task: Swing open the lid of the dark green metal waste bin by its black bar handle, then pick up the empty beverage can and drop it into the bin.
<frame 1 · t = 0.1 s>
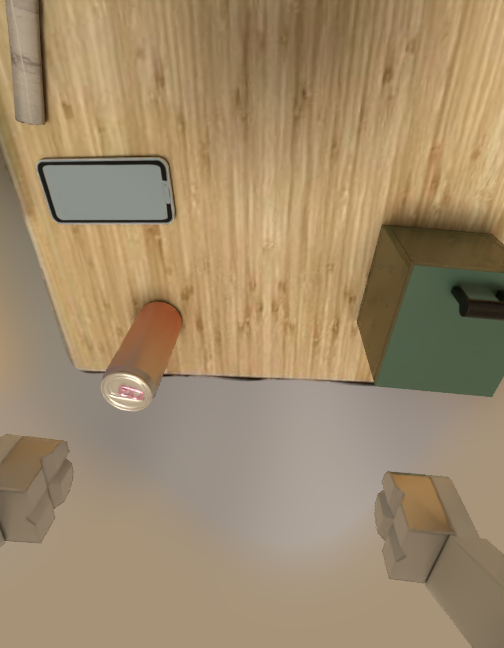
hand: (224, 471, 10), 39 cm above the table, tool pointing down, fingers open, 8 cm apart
beverage can: (162, 317, 55), on the table
rod: (34, 54, 39), on the table
smartphone: (109, 190, 45), on the table
bin lid: (463, 347, 37), point 14 cm above the table, hinge at 0.0°
waste bin: (418, 281, 49), on the table
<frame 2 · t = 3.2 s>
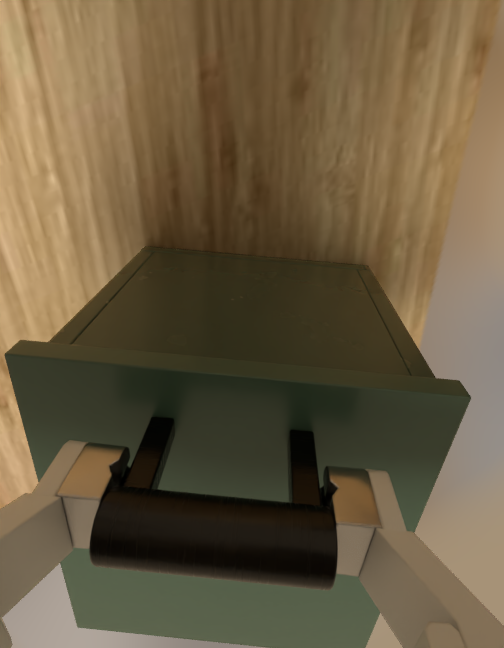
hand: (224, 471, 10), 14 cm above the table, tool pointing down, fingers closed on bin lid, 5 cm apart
bin lid: (218, 590, 12), point 14 cm above the table, hinge at 0.0°, touching gripper
waste bin: (248, 357, 25), on the table
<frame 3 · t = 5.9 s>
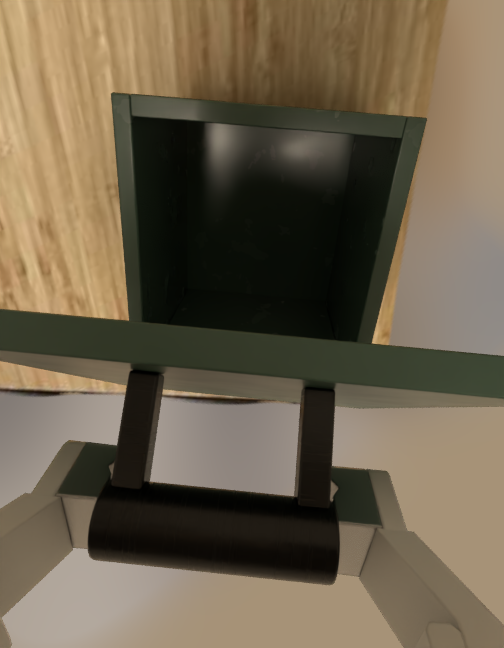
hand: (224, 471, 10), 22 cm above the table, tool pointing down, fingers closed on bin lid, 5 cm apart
bin lid: (234, 436, 14), point 19 cm above the table, hinge at 50.4°, touching gripper
waste bin: (263, 215, 29), on the table
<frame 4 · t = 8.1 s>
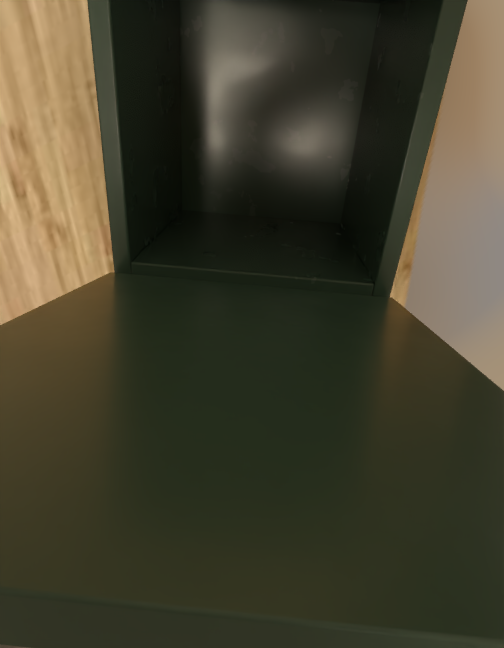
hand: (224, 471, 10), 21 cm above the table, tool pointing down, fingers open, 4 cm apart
bin lid: (232, 419, 11), point 20 cm above the table, hinge at 79.9°
waste bin: (269, 119, 25), on the table
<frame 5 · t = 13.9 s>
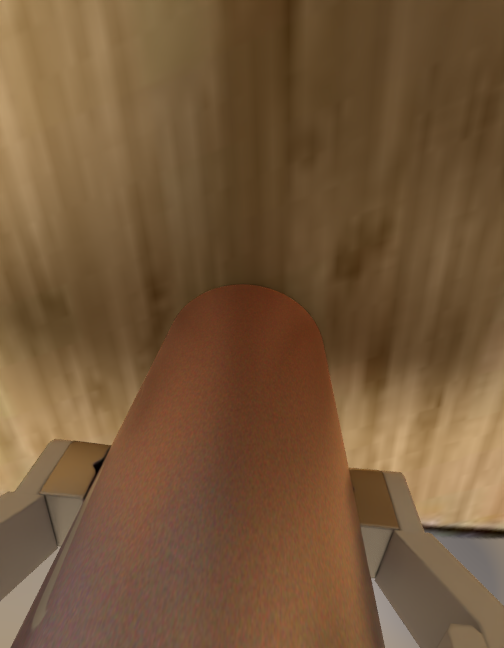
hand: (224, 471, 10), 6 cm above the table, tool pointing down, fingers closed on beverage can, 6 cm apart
beverage can: (246, 344, 16), on the table, touching gripper
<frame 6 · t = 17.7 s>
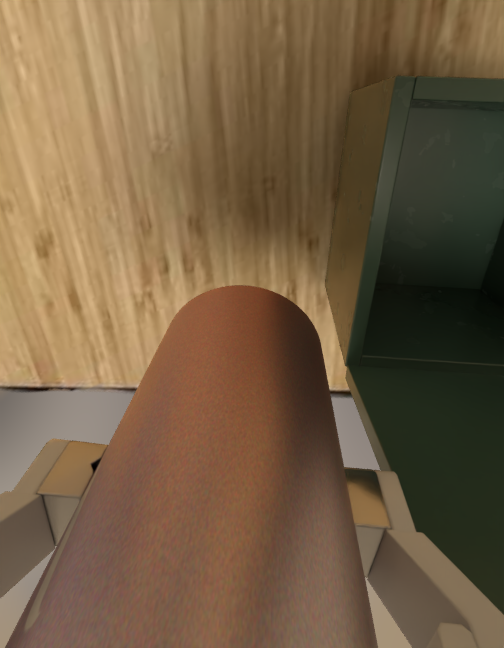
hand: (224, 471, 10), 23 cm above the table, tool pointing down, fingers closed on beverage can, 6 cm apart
beverage can: (244, 345, 16), point 17 cm above the table, touching gripper
waste bin: (423, 203, 28), on the table
when the fingers open (15 cm above the table, at t = 21.2 s): beverage can drops 8 cm, resting on waste bin.
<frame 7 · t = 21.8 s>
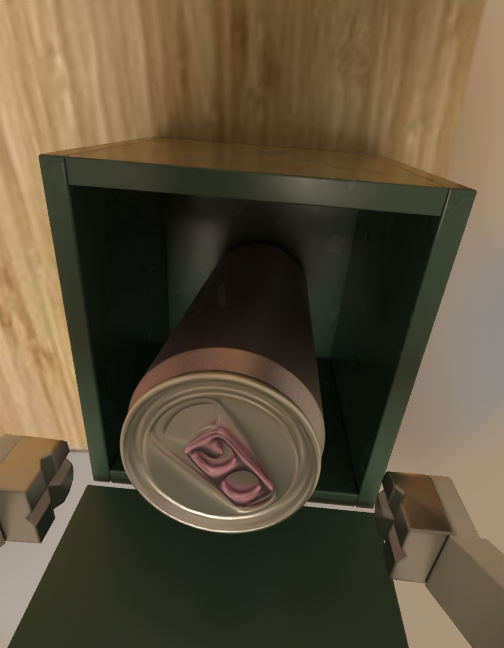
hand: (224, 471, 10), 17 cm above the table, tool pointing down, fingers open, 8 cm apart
beverage can: (258, 287, 25), point 1 cm above the table, touching waste bin
waste bin: (256, 263, 25), on the table
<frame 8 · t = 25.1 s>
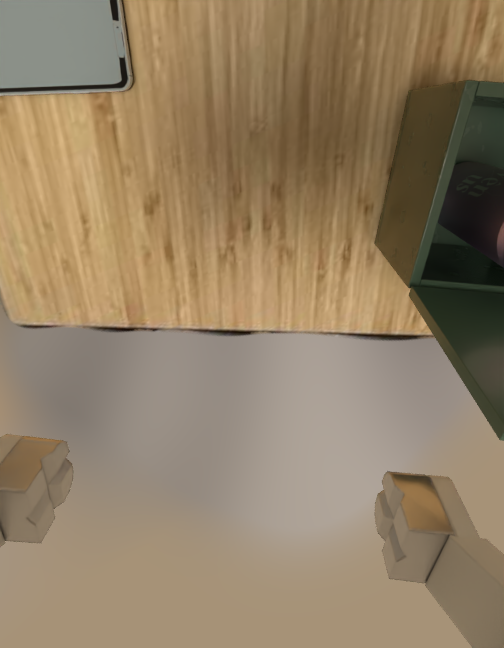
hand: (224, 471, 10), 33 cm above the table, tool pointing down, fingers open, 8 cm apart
beverage can: (458, 194, 37), point 1 cm above the table, touching waste bin
smartphone: (44, 45, 34), on the table
waste bin: (456, 179, 37), on the table
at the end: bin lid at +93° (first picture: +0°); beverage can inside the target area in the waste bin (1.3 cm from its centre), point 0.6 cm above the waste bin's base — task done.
